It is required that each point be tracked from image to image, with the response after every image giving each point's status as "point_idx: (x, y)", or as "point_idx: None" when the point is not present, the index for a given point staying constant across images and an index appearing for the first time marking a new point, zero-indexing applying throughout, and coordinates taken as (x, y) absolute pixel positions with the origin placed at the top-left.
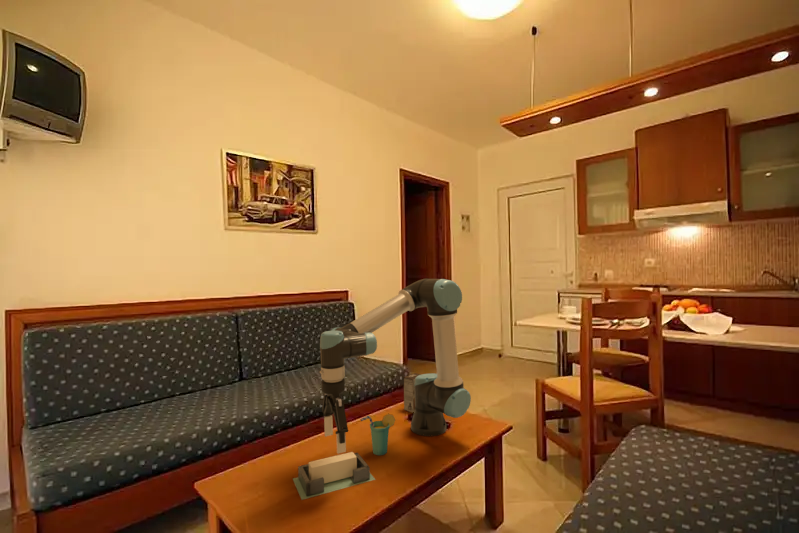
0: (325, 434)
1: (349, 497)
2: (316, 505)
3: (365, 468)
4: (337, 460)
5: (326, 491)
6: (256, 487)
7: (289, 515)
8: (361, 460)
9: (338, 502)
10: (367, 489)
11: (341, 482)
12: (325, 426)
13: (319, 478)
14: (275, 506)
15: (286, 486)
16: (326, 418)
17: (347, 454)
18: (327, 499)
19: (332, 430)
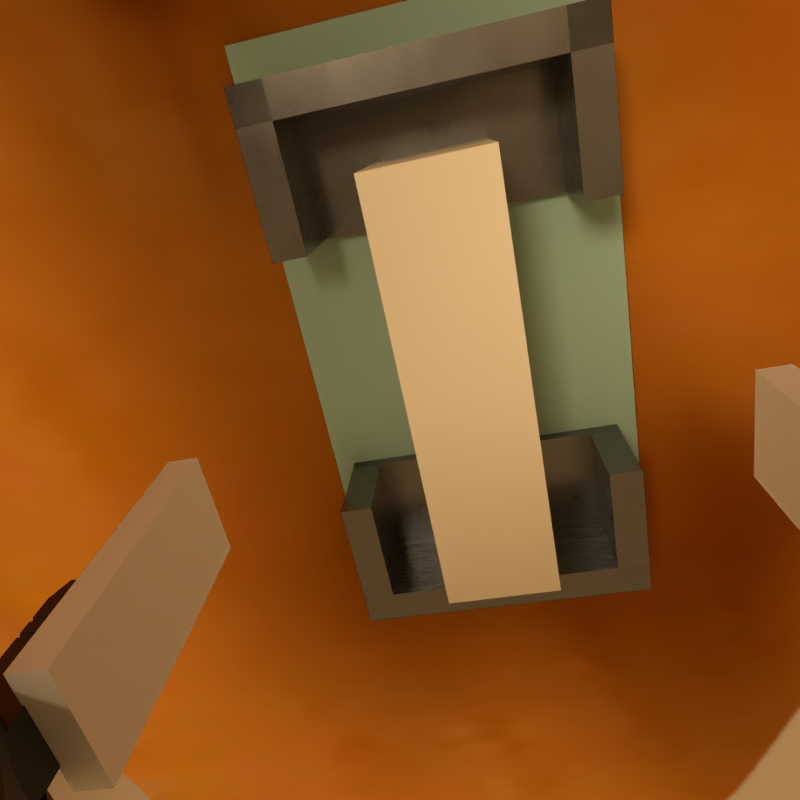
0: (222, 562)
1: (752, 248)
2: (734, 477)
3: (613, 52)
4: (505, 367)
5: (617, 408)
6: (399, 747)
7: (758, 617)
8: (421, 68)
9: (774, 338)
10: (709, 71)
11: (535, 285)
12: (179, 642)
13: (616, 500)
14: (632, 674)
15: (440, 619)
16: (114, 741)
17: (403, 243)
18: (699, 405)
19: (176, 496)
